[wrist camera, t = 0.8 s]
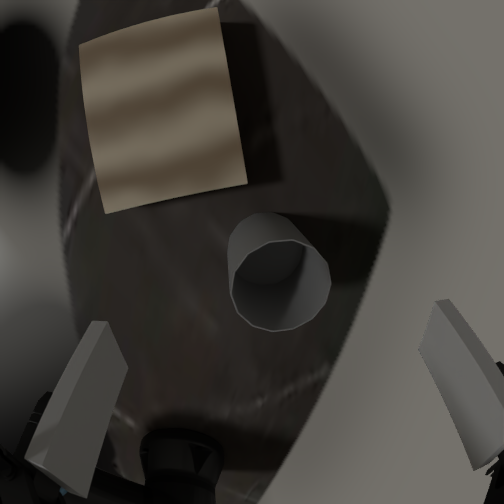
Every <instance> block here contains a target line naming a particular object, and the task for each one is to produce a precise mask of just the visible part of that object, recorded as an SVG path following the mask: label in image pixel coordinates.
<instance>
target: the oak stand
mask: <svg viewBox="0 0 504 504" xmlns="http://www.w3.org/2000/svg"><path fill="white" fill-rule="evenodd" d="M79 54H80V68H81V79H82V89H83V98H84V106H85V113H86V120H87V127H88V133H89V139H90V145H91V151H92V156H93V161H94V166H95V171H96V176H97V181H98V185H99V190H100V194H101V198H102V202H103V206H104V210H105V214H108V213H112V212H116V211H120V210H124V209H128V208H132V207H136V206H140V205H145V204H149V203H153V202H158V201H162V200H167V199H171V198H176V197H181V196H186V195H190V194H195V193H200V192H205V191H210V190H216V189H221V188H226V187H232V186H237V185H243V184H248V182H247V176H246V170H245V164H244V158H243V152H242V147H241V141H240V135H239V129H238V123H237V117H236V112H235V106H234V100H233V94H232V88H231V83H230V77H229V71H228V66H227V60H226V54H225V48H224V43H223V37H222V32H221V26H220V20H219V15H218V9H217V7H215V8H209V9H202V10H197V11H191V12H186V13H181V14H177V15H172V16H168V17H164V18H160V19H156V20H152V21H148V22H145V23H141V24H138V25H134V26H131V27H128V28H124V29H121V30H118V31H115V32H112V33H110V34H107V35H104V36H101V37H99V38H96V39H93V40H91V41H88V42H86V43H83V44H81V45H79Z"/></svg>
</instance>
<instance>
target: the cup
mask: <svg viewBox="0 0 504 504" xmlns="http://www.w3.org/2000/svg"><path fill="white" fill-rule="evenodd" d="M227 256H228V271H229V286H230V295H231V298H232V301H233V303H234V306H235V309H236V311H237V313H238V314H239V315H240V316H241V317H242V318H243V319H245V320H246V321H247V322H248V323H249V324H250V325H251V326H253V327H257V328H260V329H264V330H267V331H271V332H276V331H284V330H292V329H295V328H297V327H299V326H301V325H302V324H304V323H306V322H308V321H310V320H312V319H313V318H314V317H315V315H316V314H317V313H318V312H319V311H320V309H321V308H322V307H323V306H324V305H325V303H326V301H327V297H328V294H329V290H330V287H331V278H330V273H329V268H328V263H327V262H326V261H325V260H324V258H323V257H322V256H321V255H320V254H319V253H318V251H317V250H316V249H315V248H314V247H313V246H312V244H311V243H310V242H309V241H308V240H307V239H306V238H305V237H304V235H303V234H302V233H301V232H300V231H299V230H298V229H297V228H296V227H295V225H294V224H293V223H292V222H291V221H290V220H289V219H288V218H286V217H283V216H281V215H278V214H276V213H273V212H267V213H255V214H253V215H251V216H249V217H248V218H246V219H244V220H242V221H241V222H239V224H238V225H237V227H236V228H235V229H234V231H233V232H232V234H231V235H230V238H229V244H228V251H227Z"/></svg>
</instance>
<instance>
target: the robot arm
mask: <svg viewBox="0 0 504 504" xmlns="http://www.w3.org/2000/svg"><path fill="white" fill-rule="evenodd" d="M418 350H419V352H420V354H421V356H422V358H423V359H424V361H425V363H426V365H427V367H428V369H429V371H430V373H431V375H432V377H433V379H434V381H435V383H436V385H437V387H438V389H439V391H440V393H441V396H442V398H443V400H444V402H445V404H446V406H447V408H448V410H449V413H450V415H451V417H452V419H453V422H454V424H455V426H456V428H457V430H458V433H459V435H460V438H461V440H462V443H463V445H464V448H465V450H466V452H467V455H468V458H469V460H470V463H471V465H472V468H473V471H475V470H477V469H479V468H481V467H483V466H485V465H487V464H488V463H490V462H491V461H492V460H493V459H494V458H495V457H497V456H498V458H499V460H498V461H497V462H496V463H495V464H494V465H493V466H491V467H490V468H489V469H488V470H487V472H486V474H485V475H488V474H490V473H491V472H492V471H493V470H494V472H493V473H492V474H491V477H492V480H491V483H490V486H489V489H488V492H487V495H486V498H485V501H484V504H504V364H502V363H501V362H500V361H499V362H497V363H495V362H494V361H493V359H492V357H491V356H490V354H489V353H488V352H487V350H486V349H485V347H484V346H483V344H482V343H481V341H480V340H479V338H478V337H477V336H476V334H475V333H474V332H473V330H472V329H471V327H470V326H469V325H468V323H467V322H466V321H465V319H464V318H463V317H462V315H461V314H460V313H459V311H458V310H457V309H456V308H455V306H454V305H453V304H452V302H451V301H450V300H449V299H446V300H440V301H435V302H434V306H433V309H432V312H431V315H430V318H429V321H428V324H427V327H426V330H425V332H424V335H423V338H422V341H421V343H420V346H419V349H418ZM127 370H128V366H127V364H126V362H125V360H124V358H123V355H122V353H121V351H120V349H119V347H118V344H117V342H116V340H115V338H114V335H113V333H112V331H111V328H110V326H109V323H108V321H92V322H91V324H90V326H89V327H88V329H87V331H86V332H85V334H84V336H83V338H82V339H81V341H80V343H79V345H78V347H77V348H76V350H75V352H74V354H73V356H72V357H71V359H70V361H69V363H68V365H67V367H66V369H65V371H64V373H63V375H62V376H61V378H60V380H59V382H58V385H57V386H56V388H55V390H54V392H53V393H52V392H46V393H45V394H44V395H43V396H42V397H41V398H40V400H38V402H37V405H36V406H35V409H34V411H33V414H32V415H31V417H30V419H29V422H28V423H27V425H26V427H25V430H24V432H23V434H22V436H21V439H20V441H19V443H18V446H17V448H16V450H15V452H14V454H13V455H12V454H11V453H10V452H8V451H7V450H6V449H5V448H4V447H3V446H2V445H1V444H0V504H216V500H215V487H216V484H217V482H218V479H219V476H220V474H221V471H222V468H223V465H224V451H223V448H222V447H221V445H220V444H219V443H218V442H217V441H215V440H214V439H212V438H210V437H208V436H206V435H204V434H201V433H198V432H194V431H190V430H184V429H161V430H156V431H153V432H151V433H149V434H147V435H146V436H144V437H143V439H142V441H141V445H140V451H139V454H140V459H141V464H142V468H143V472H144V477H145V486H144V485H141V484H138V483H135V482H132V481H129V480H127V479H124V478H121V477H119V476H116V475H113V474H111V473H108V472H106V471H103V470H101V469H99V468H96V463H97V460H98V456H99V453H100V450H101V446H102V443H103V440H104V437H105V434H106V431H107V428H108V425H109V421H110V418H111V415H112V412H113V410H114V407H115V404H116V401H117V398H118V395H119V392H120V389H121V387H122V384H123V381H124V378H125V375H126V373H127Z"/></svg>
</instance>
